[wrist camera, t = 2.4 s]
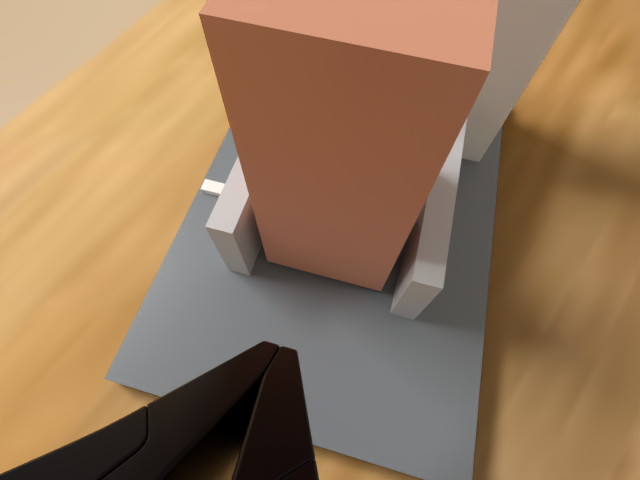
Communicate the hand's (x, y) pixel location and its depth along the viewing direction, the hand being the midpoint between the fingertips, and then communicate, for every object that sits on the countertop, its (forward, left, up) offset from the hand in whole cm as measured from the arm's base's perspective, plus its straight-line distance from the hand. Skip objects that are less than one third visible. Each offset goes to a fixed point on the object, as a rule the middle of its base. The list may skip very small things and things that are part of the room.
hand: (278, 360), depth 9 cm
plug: (+6, -1, -6) cm, 9 cm away
